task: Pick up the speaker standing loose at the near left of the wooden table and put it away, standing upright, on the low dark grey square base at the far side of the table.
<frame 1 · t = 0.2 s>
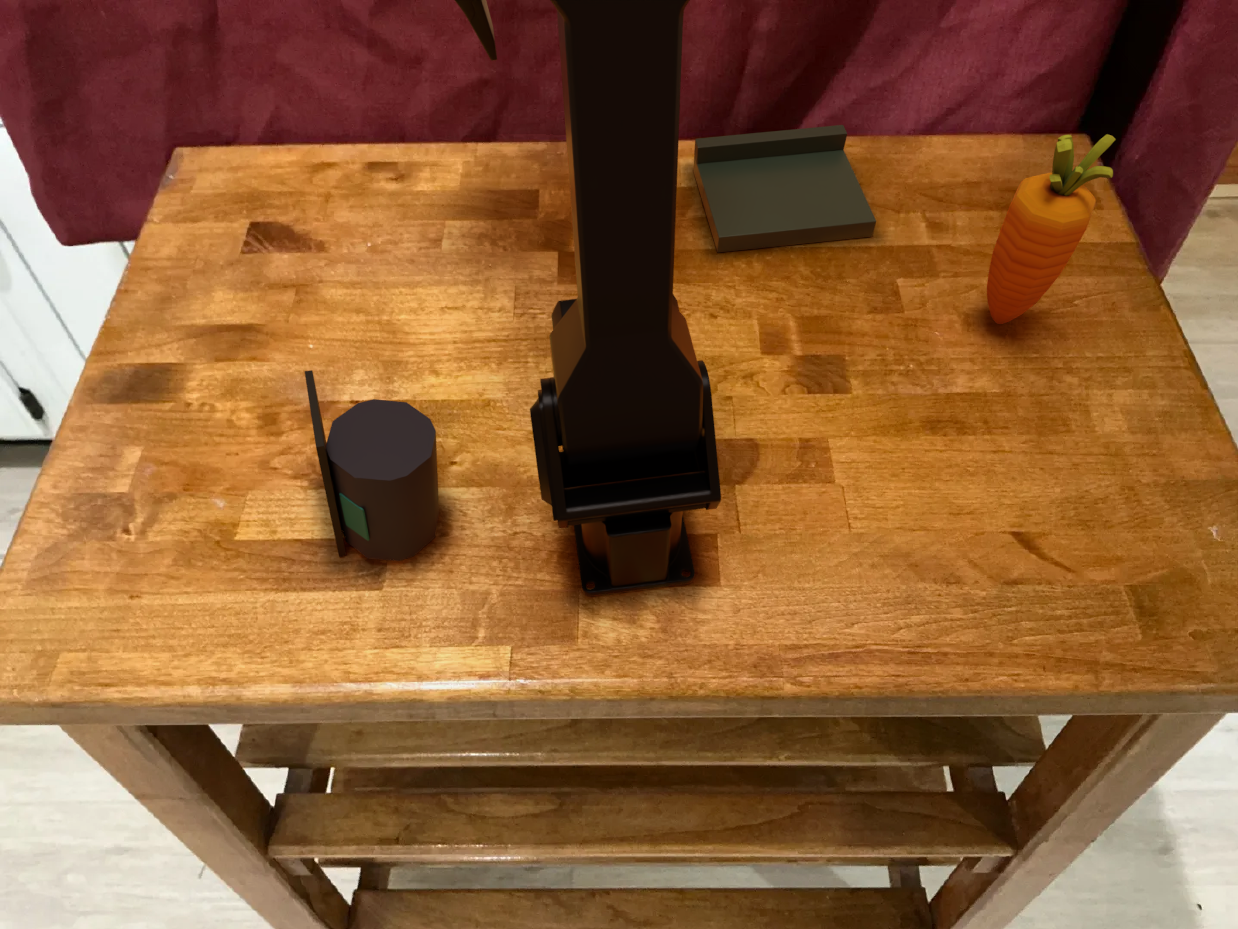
hand: (565, 50, 58), 15 cm above the table, tool pointing down, fingers open, 9 cm apart
dark grey square base: (779, 202, 71), on the table
carrot: (997, 324, 64), on the table
speaker: (394, 516, 55), on the table
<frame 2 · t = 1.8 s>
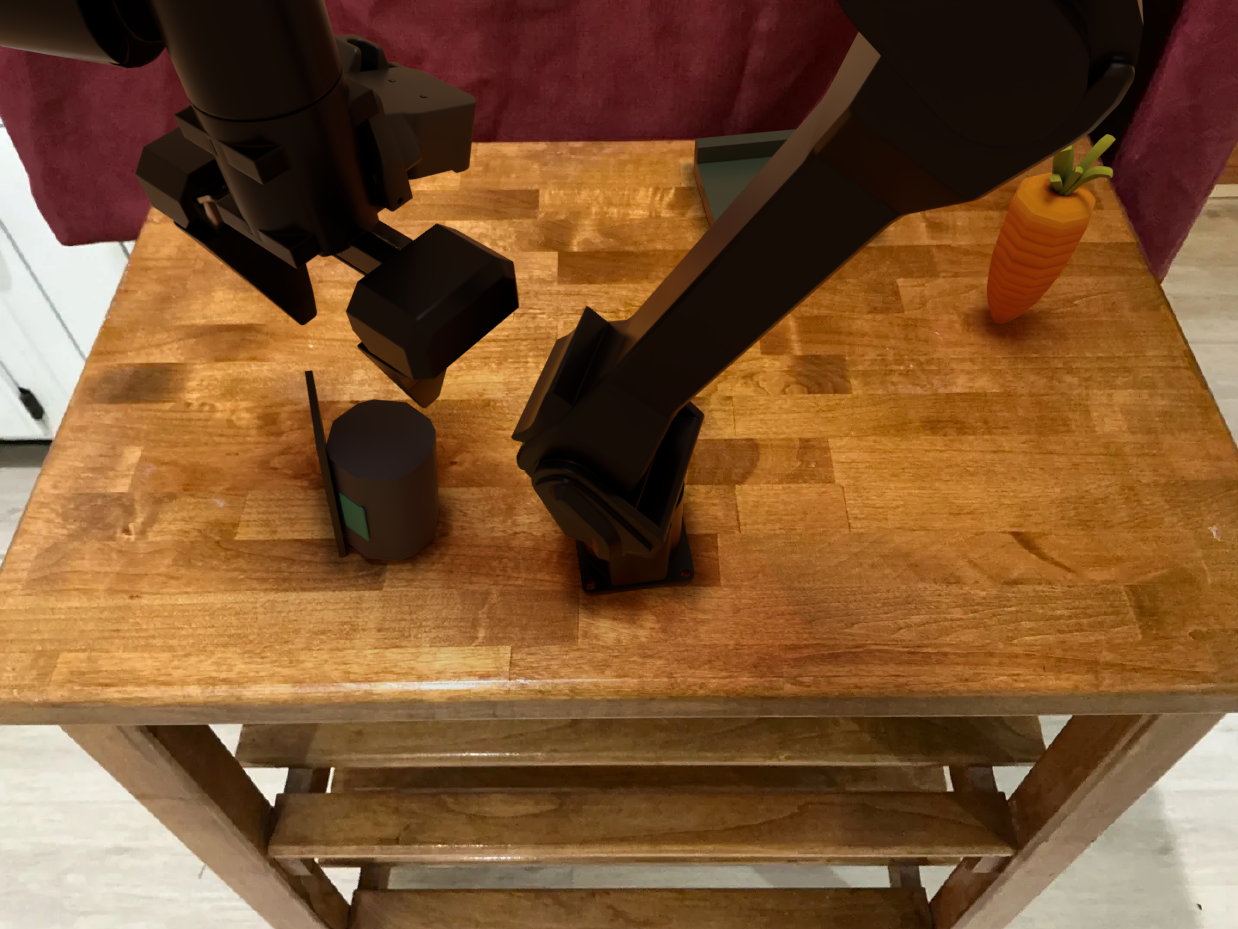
hand: (366, 359, 46), 12 cm above the table, tool pointing down, fingers open, 9 cm apart
nothing on the table moved.
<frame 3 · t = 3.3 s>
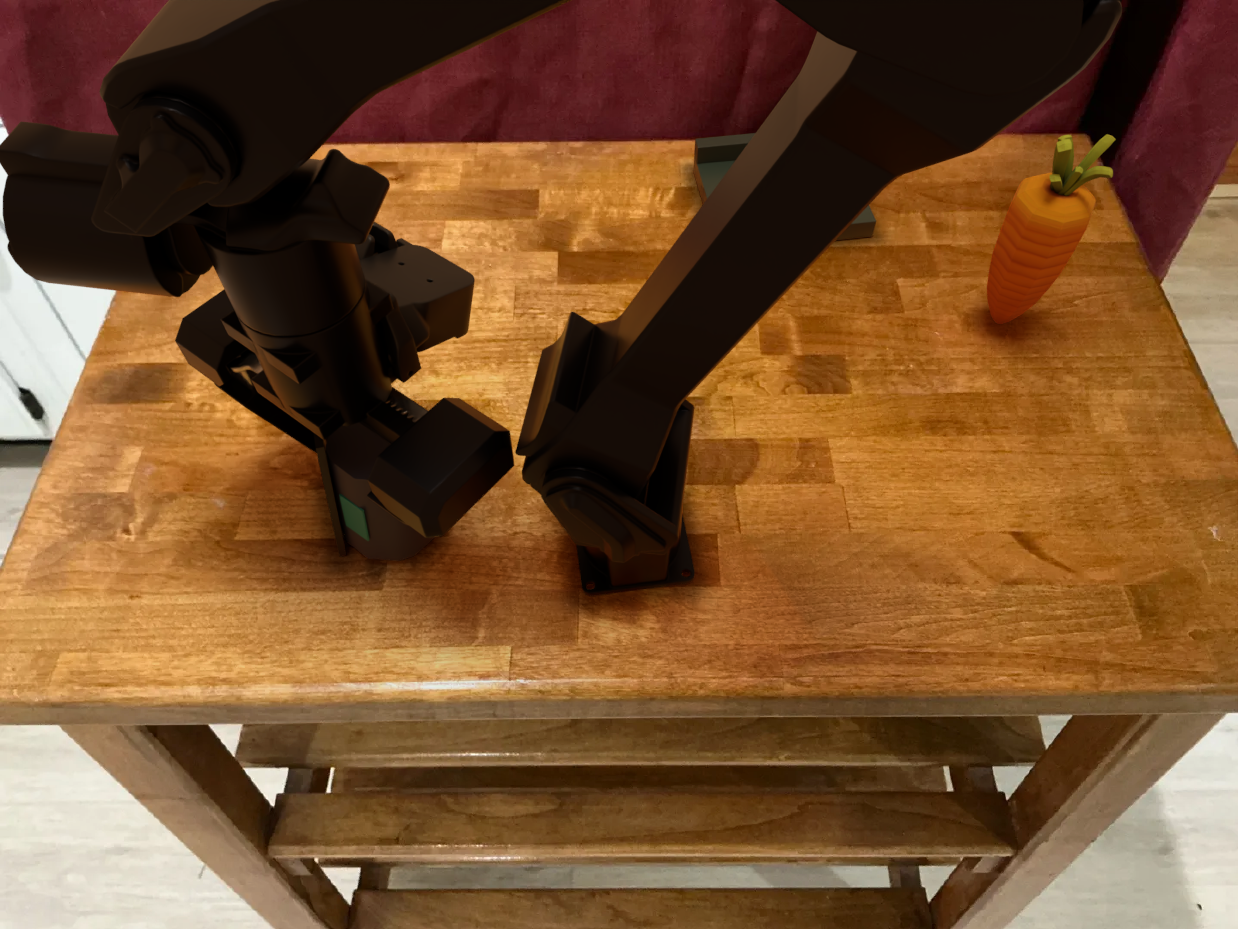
hand: (376, 485, 53), 3 cm above the table, tool pointing down, fingers closed on speaker, 8 cm apart
speaker: (394, 516, 55), on the table, touching gripper
everything else where it was.
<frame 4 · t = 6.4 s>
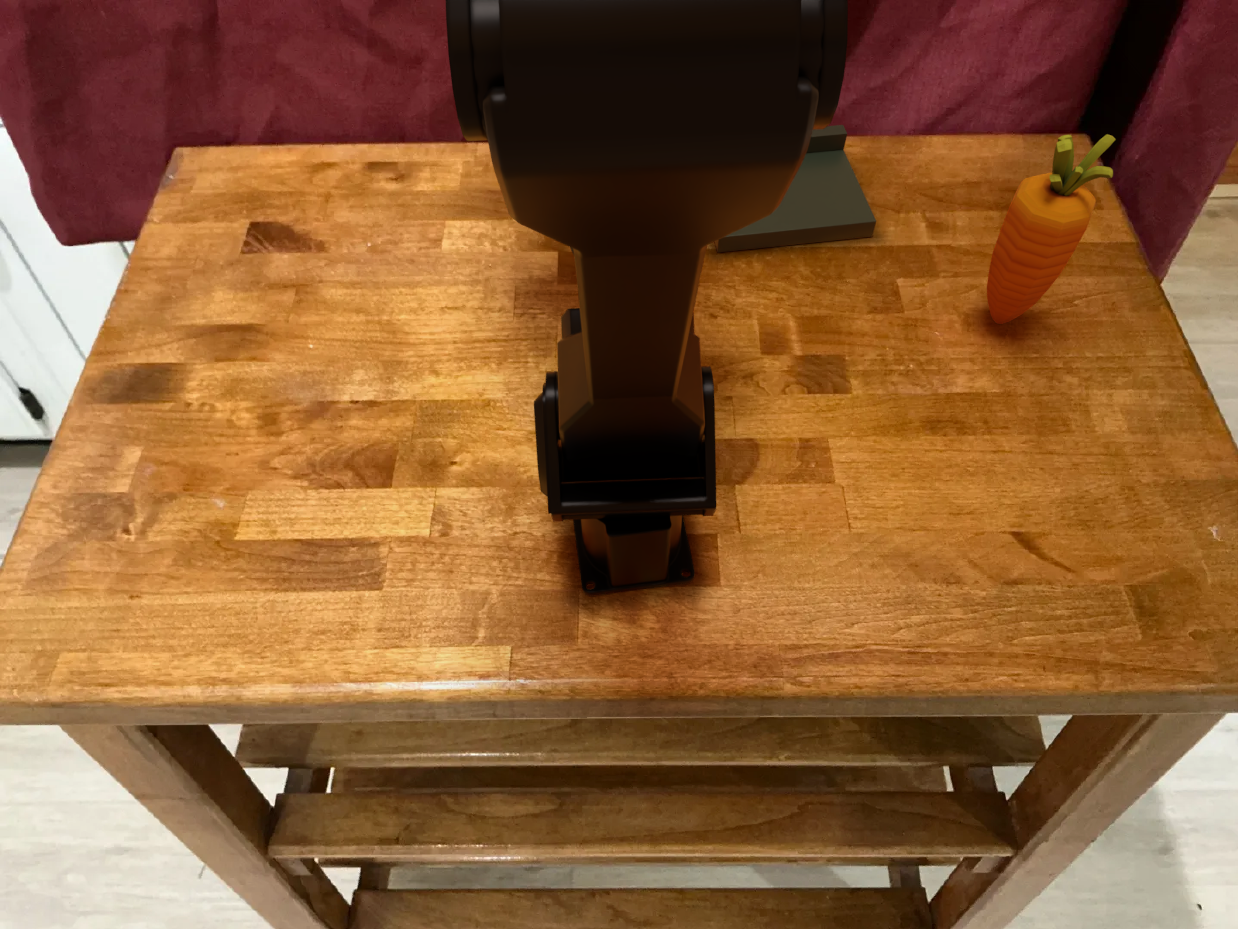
hand: (618, 197, 55), 11 cm above the table, tool pointing down, fingers closed on speaker, 7 cm apart
speaker: (625, 240, 57), point 8 cm above the table, touching gripper
everything else where it was.
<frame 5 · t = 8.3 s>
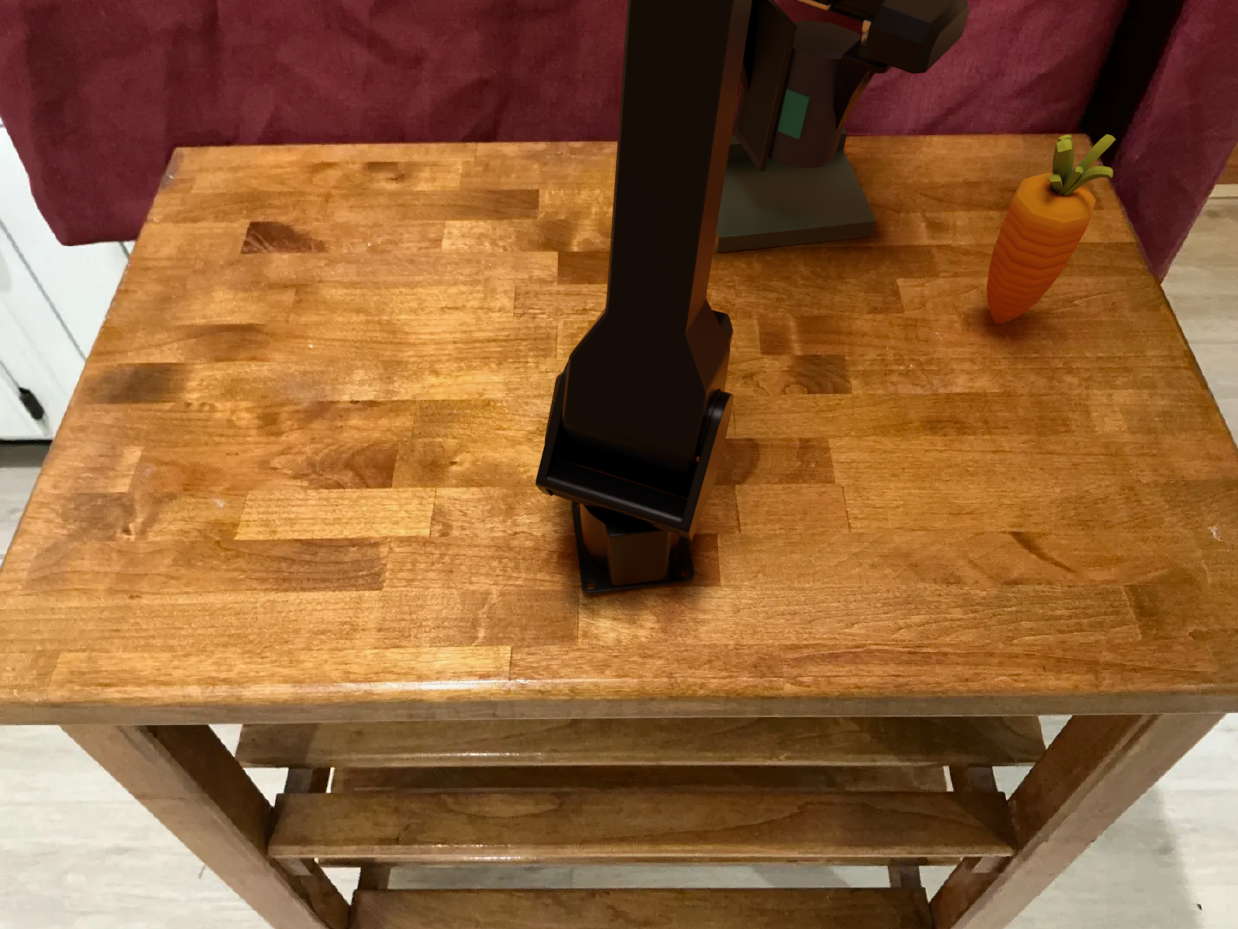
hand: (794, 109, 65), 8 cm above the table, tool pointing down, fingers closed on speaker, 7 cm apart
speaker: (793, 149, 67), point 5 cm above the table, touching gripper
everything else where it was.
when the fingers open (5 cm above the table, at t = 9.8 s): speaker stays where it is, resting on dark grey square base.
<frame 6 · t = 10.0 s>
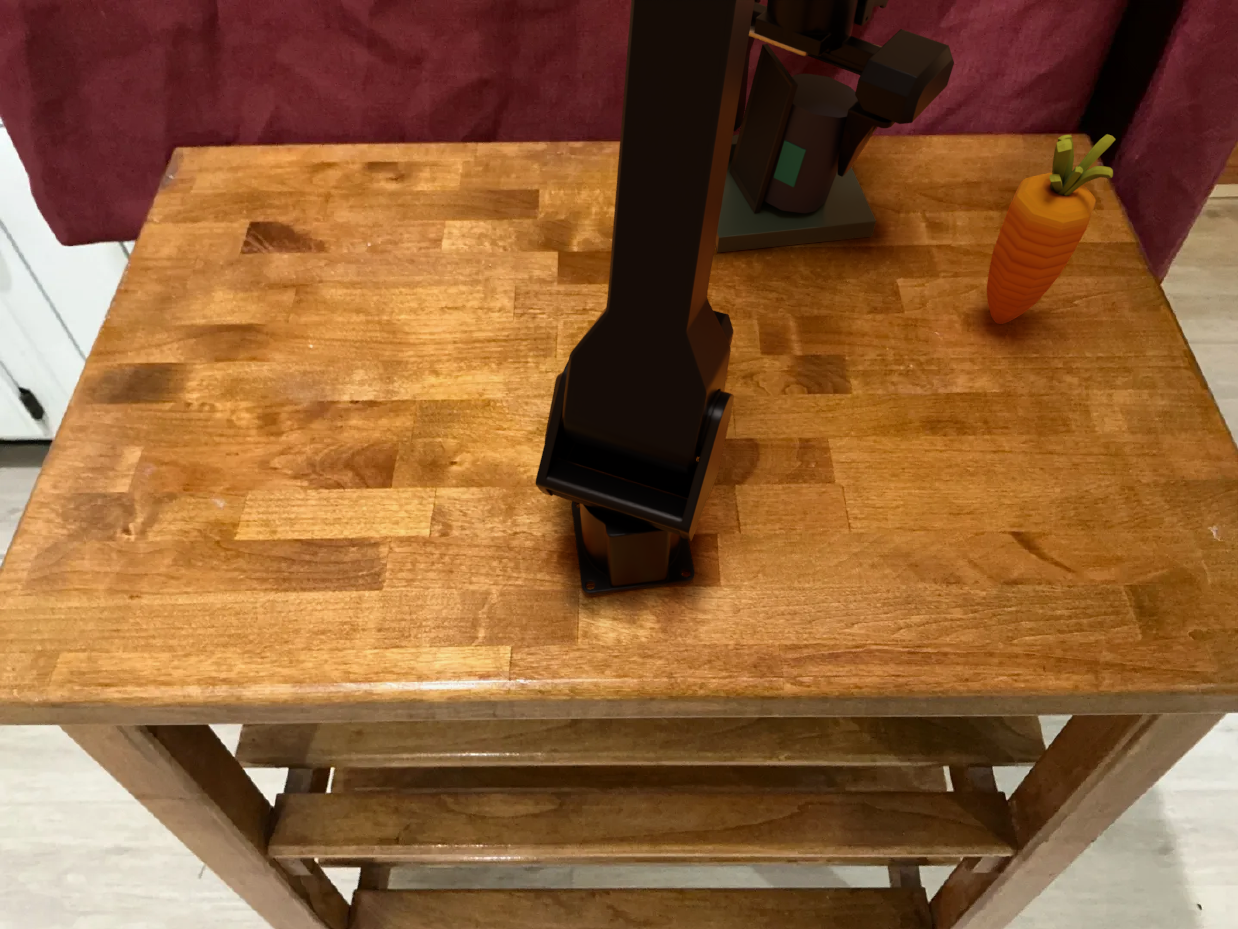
hand: (788, 149, 67), 5 cm above the table, tool pointing down, fingers open, 9 cm apart
speaker: (786, 191, 70), point 1 cm above the table, touching dark grey square base
everything else where it was.
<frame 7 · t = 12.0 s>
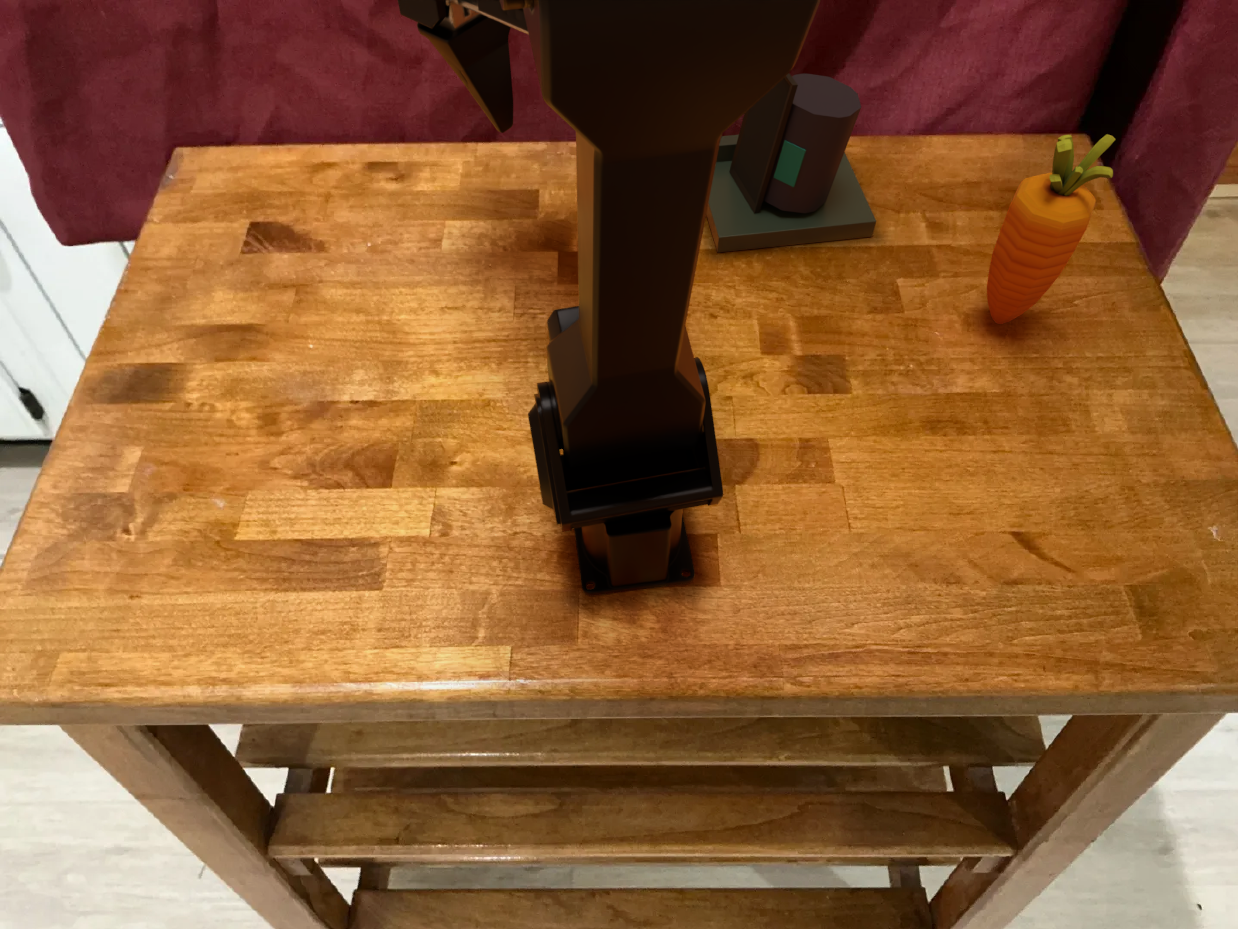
hand: (560, 155, 56), 12 cm above the table, tool pointing down, fingers open, 9 cm apart
nothing on the table moved.
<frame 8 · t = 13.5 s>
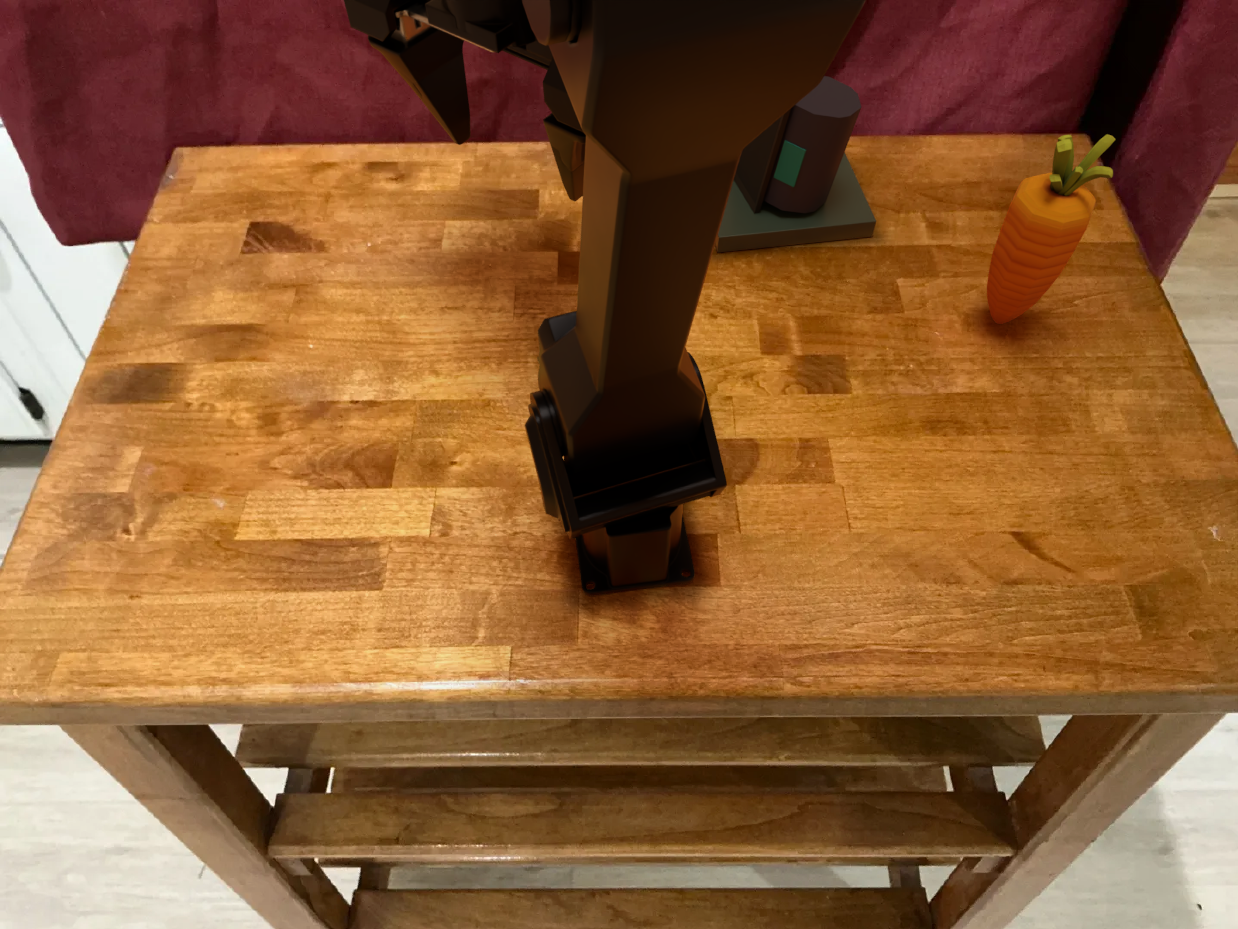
hand: (518, 167, 55), 12 cm above the table, tool pointing down, fingers open, 9 cm apart
nothing on the table moved.
at the end: speaker inside the target area on the dark grey square base (0.5 cm from its centre), point 1.3 cm above the dark grey square base's base; speaker tilted 0° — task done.
